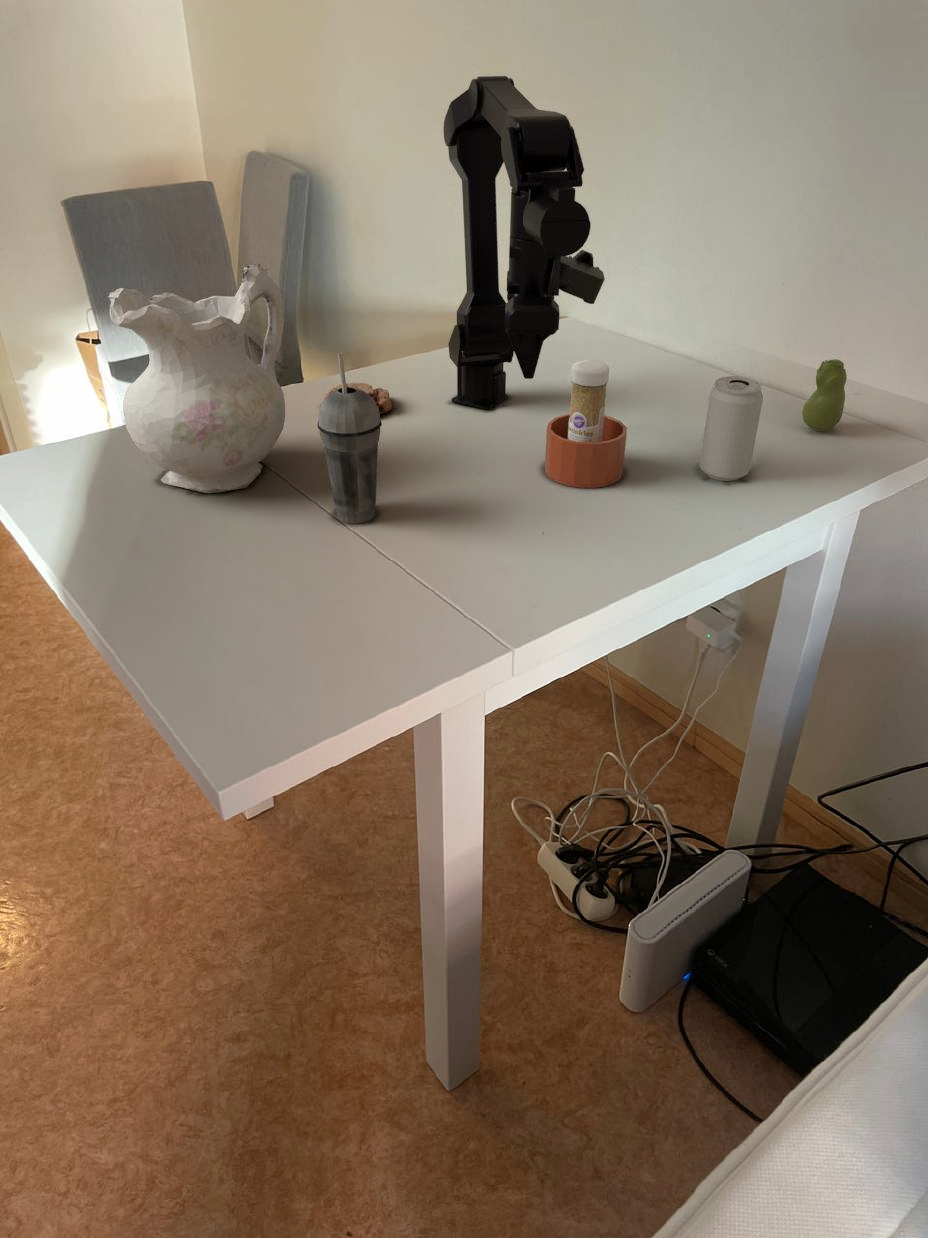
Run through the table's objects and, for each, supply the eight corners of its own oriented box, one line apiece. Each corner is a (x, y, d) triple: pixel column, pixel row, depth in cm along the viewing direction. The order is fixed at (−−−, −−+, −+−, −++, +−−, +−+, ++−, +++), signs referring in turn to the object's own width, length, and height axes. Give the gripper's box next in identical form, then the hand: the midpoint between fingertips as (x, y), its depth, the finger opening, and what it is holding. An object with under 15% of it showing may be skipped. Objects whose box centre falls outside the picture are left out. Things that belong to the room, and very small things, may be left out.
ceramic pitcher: (237, 436, 137) (201, 253, 124) (339, 459, 127) (311, 262, 114) (112, 491, 123) (57, 290, 110) (216, 522, 112) (168, 305, 100)
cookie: (337, 392, 149) (336, 373, 147) (402, 399, 146) (402, 380, 145) (312, 416, 141) (310, 396, 139) (380, 423, 138) (379, 403, 137)
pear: (833, 439, 134) (849, 369, 128) (794, 432, 136) (809, 362, 130) (842, 426, 138) (857, 357, 132) (804, 419, 140) (818, 351, 134)
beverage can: (753, 467, 126) (769, 378, 119) (743, 487, 121) (759, 395, 115) (704, 458, 128) (718, 371, 122) (693, 477, 123) (706, 387, 117)
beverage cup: (395, 506, 117) (388, 342, 106) (371, 533, 111) (361, 363, 100) (341, 497, 119) (328, 336, 108) (314, 523, 113) (298, 356, 102)
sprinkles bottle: (561, 470, 124) (567, 368, 117) (570, 456, 128) (577, 357, 120) (595, 475, 123) (604, 373, 115) (604, 461, 126) (613, 361, 119)
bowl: (531, 476, 124) (533, 433, 120) (565, 449, 131) (568, 407, 127) (603, 494, 119) (607, 449, 116) (634, 465, 127) (638, 422, 123)
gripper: (609, 256, 104) (597, 394, 113) (598, 218, 120) (588, 342, 129) (506, 254, 105) (502, 391, 114) (508, 217, 120) (505, 340, 129)
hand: (528, 365), depth 121 cm, fingers open, 9 cm apart
